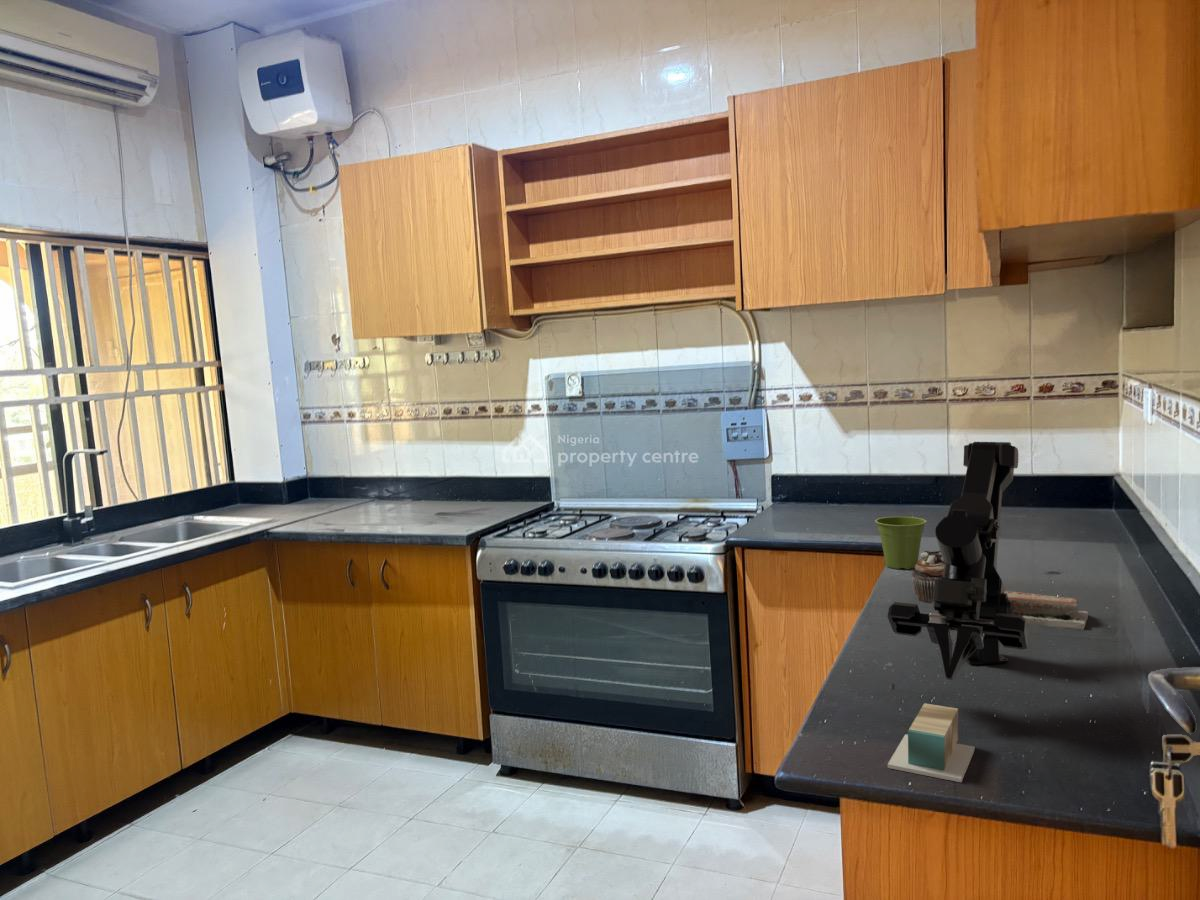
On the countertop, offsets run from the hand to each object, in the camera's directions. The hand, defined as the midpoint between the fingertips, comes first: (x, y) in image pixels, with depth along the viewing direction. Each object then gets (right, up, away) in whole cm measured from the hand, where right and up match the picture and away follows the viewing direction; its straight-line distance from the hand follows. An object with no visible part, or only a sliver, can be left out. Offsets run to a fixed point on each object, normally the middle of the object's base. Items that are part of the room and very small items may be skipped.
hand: (949, 678), depth 128 cm
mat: (-6, -8, -9) cm, 14 cm away
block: (-3, -5, -4) cm, 7 cm away
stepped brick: (+35, -1, +47) cm, 58 cm away
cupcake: (+21, +1, +62) cm, 65 cm away
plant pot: (+23, +4, +90) cm, 93 cm away
